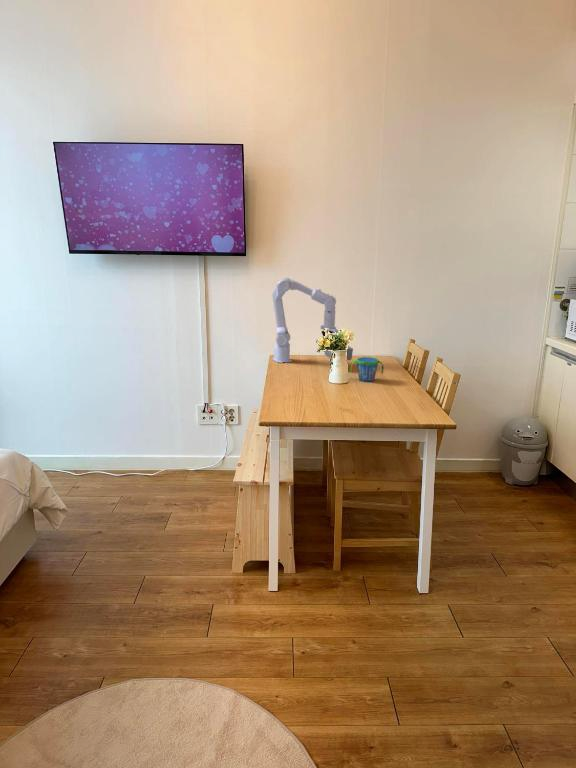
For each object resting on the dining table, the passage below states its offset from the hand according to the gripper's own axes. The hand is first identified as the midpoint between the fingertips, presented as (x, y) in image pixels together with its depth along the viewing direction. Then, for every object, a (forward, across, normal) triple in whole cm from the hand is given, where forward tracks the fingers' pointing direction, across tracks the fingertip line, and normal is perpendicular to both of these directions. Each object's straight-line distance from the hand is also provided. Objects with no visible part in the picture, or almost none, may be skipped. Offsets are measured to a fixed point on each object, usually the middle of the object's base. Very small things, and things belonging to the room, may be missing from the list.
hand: (328, 344), depth 299 cm
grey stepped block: (+4, -7, 0) cm, 8 cm away
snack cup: (+11, -36, 0) cm, 37 cm away
